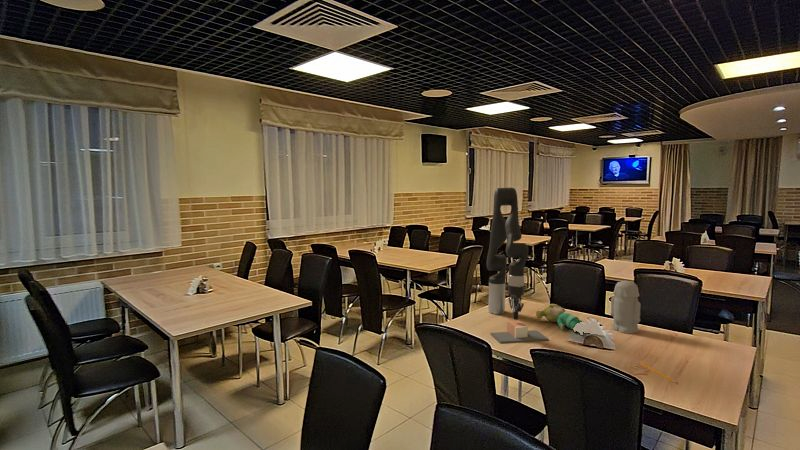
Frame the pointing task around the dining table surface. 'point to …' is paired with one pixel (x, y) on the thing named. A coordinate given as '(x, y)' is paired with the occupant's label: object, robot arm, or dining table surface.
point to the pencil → (657, 372)
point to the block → (517, 329)
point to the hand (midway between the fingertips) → (515, 319)
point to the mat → (508, 338)
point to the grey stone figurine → (625, 307)
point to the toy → (558, 316)
